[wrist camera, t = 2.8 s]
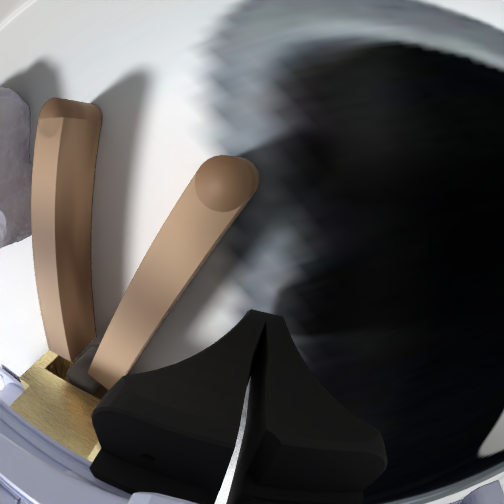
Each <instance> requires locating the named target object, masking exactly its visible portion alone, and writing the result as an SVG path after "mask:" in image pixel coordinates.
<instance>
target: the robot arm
mask: <svg viewBox="0 0 504 504" xmlns="http://www.w3.org/2000/svg"><path fill="white" fill-rule="evenodd" d="M250 376H251V381H250V390H249V400H248V409H247V419H246V425H245V431H244V435H243V440H242V444H241V448H240V452H239V457H238V461H237V465H236V469H235V473H234V477H233V481H232V485H231V488H230V492H229V496H228V500H227V503H226V504H361V503H362V502H363V500H364V499H363V490H364V489H365V488H366V487H368V486H369V485H370V484H371V483H372V482H373V481H374V480H376V479H377V478H378V477H379V476H380V475H381V473H382V472H383V471H384V470H385V469H386V466H387V463H388V462H387V457H386V451H385V446H384V442H383V439H382V436H381V433H380V431H379V430H377V429H376V428H374V427H373V426H371V425H369V424H368V423H366V422H365V421H363V420H362V419H360V418H359V417H357V416H356V415H354V414H353V413H352V412H351V411H349V410H348V409H347V408H346V407H344V406H343V405H342V404H341V403H340V402H339V401H338V400H336V399H335V398H334V397H333V396H332V395H331V394H330V393H329V392H328V391H327V390H326V389H325V388H324V387H323V385H322V384H321V383H320V382H319V381H318V380H317V378H316V377H315V376H314V374H313V373H312V372H311V371H310V369H309V368H308V366H307V365H306V363H305V362H304V360H303V358H302V357H301V355H300V353H299V351H298V350H297V348H296V346H295V344H294V342H293V340H292V338H291V335H290V333H289V331H288V328H287V326H286V323H285V320H284V318H283V317H282V316H278V315H273V314H269V313H265V312H260V311H256V310H252V309H251V310H249V311H248V312H247V313H246V315H245V316H244V317H243V318H242V320H241V321H240V322H239V323H238V324H237V325H236V326H235V327H234V328H232V329H231V330H230V331H229V332H228V333H227V334H226V335H224V336H223V337H222V338H221V339H219V340H218V341H217V342H215V343H214V344H212V345H211V346H209V347H208V348H206V349H205V350H203V351H201V352H200V353H198V354H196V355H194V356H192V357H190V358H188V359H186V360H183V361H181V362H179V363H176V364H173V365H170V366H168V367H164V368H161V369H158V370H154V371H149V372H144V373H139V374H133V375H127V376H122V377H121V378H120V379H119V380H118V381H117V382H116V383H115V384H114V385H113V386H112V387H111V388H110V389H109V390H108V392H107V393H106V394H105V395H104V397H103V398H102V400H101V401H100V402H99V404H98V405H97V406H96V408H95V409H94V410H93V413H92V415H91V418H92V424H93V427H94V430H95V433H96V435H97V438H98V441H99V443H100V446H101V449H100V451H99V453H98V454H97V456H96V457H95V459H94V461H93V462H91V461H89V460H87V459H86V458H84V457H82V456H80V455H79V454H77V453H75V452H73V451H72V450H70V449H68V448H67V447H65V446H63V445H62V444H60V443H59V442H57V441H56V440H54V439H52V438H51V437H49V436H48V435H46V434H45V433H44V432H42V431H41V430H39V429H38V428H36V427H35V426H34V425H32V424H31V423H30V422H28V421H27V420H26V419H24V418H23V417H22V416H20V415H19V414H18V413H17V412H15V411H14V410H13V409H12V408H11V407H9V406H10V405H11V404H12V403H13V402H14V401H15V400H16V399H17V398H18V397H19V396H20V395H21V394H22V393H23V392H24V391H25V390H24V388H23V386H22V383H21V382H19V381H18V380H17V379H15V378H14V377H13V376H11V375H10V374H9V373H8V372H6V371H5V370H4V369H3V368H2V367H0V377H1V379H2V381H3V383H4V386H5V387H4V388H3V389H2V390H1V391H0V504H26V503H25V501H26V502H27V503H28V504H214V503H215V501H216V498H217V495H218V492H219V491H220V488H221V485H222V483H223V480H224V477H225V474H226V471H227V469H228V466H229V463H230V460H231V457H232V454H233V451H234V448H235V445H236V440H237V436H238V431H239V427H240V421H241V415H242V409H243V404H244V398H245V393H246V388H247V385H248V382H249V379H250ZM449 504H504V493H503V490H502V487H501V485H500V482H499V480H496V481H494V482H491V483H489V484H486V485H483V486H481V487H479V488H477V489H475V490H474V491H472V492H471V493H469V494H468V495H467V496H466V497H464V499H463V500H459V501H456V502H453V503H449Z"/></svg>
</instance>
